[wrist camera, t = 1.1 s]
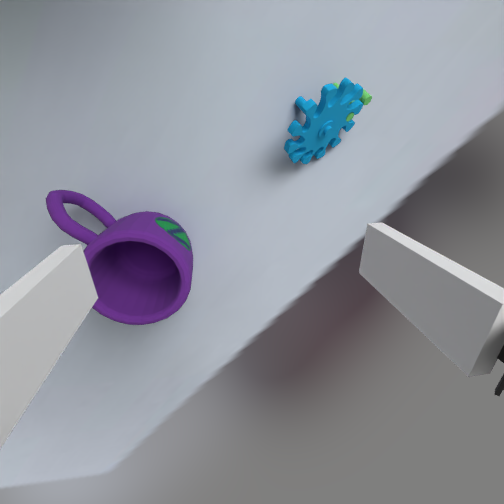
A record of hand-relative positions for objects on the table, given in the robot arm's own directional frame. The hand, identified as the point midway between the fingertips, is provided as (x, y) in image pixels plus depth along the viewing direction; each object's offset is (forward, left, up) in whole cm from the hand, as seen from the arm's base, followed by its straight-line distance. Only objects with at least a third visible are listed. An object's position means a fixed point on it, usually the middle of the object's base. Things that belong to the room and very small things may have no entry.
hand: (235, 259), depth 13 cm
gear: (0, +14, -24) cm, 28 cm away
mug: (+1, -13, -24) cm, 27 cm away
